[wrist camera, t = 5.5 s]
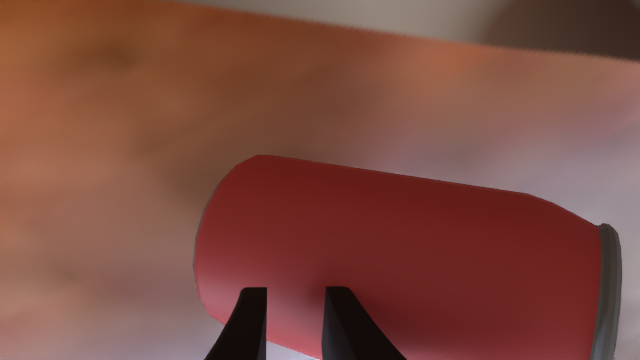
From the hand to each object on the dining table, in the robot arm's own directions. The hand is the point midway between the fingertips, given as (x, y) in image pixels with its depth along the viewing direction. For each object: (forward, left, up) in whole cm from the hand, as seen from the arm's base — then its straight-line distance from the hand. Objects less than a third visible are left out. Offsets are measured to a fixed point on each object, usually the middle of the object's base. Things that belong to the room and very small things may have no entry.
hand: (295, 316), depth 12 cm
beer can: (0, +2, -6) cm, 6 cm away
